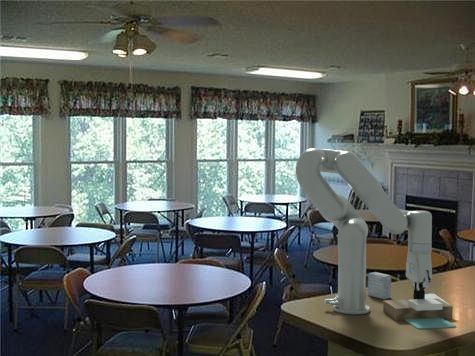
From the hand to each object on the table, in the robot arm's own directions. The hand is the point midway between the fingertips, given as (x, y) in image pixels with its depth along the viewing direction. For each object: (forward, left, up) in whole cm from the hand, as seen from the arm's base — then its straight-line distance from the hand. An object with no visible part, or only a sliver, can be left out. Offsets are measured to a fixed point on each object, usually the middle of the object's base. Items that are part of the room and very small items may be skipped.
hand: (419, 301), depth 191 cm
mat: (-1, -9, -5) cm, 10 cm away
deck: (0, +1, -5) cm, 5 cm away
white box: (0, -5, -1) cm, 5 cm away
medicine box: (-3, +26, -5) cm, 26 cm away
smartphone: (+13, +16, -6) cm, 21 cm away
